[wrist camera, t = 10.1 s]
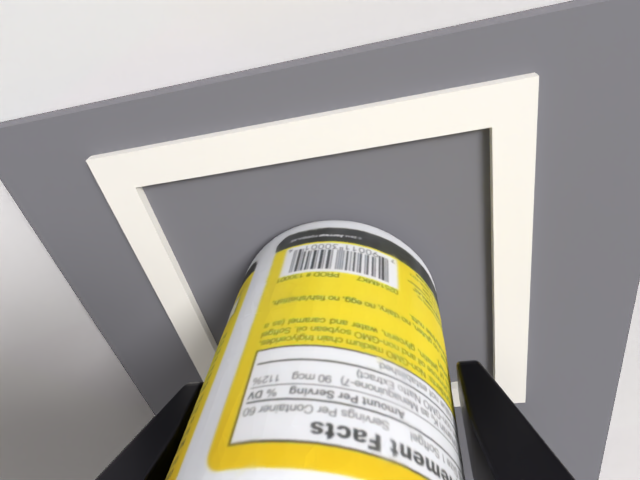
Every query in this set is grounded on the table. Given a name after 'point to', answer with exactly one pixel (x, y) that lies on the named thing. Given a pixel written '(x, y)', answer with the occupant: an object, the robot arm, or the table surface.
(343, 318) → the supplement bottle
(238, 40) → the table surface
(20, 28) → the table surface
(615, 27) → the mat
